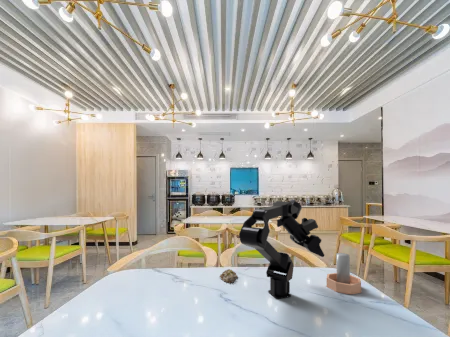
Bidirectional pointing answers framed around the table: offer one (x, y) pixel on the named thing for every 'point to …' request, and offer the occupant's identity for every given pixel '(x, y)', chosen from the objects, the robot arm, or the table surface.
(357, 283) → the terracotta bowl
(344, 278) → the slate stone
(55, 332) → the table surface
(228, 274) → the mineral rock
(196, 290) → the table surface
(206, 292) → the table surface
